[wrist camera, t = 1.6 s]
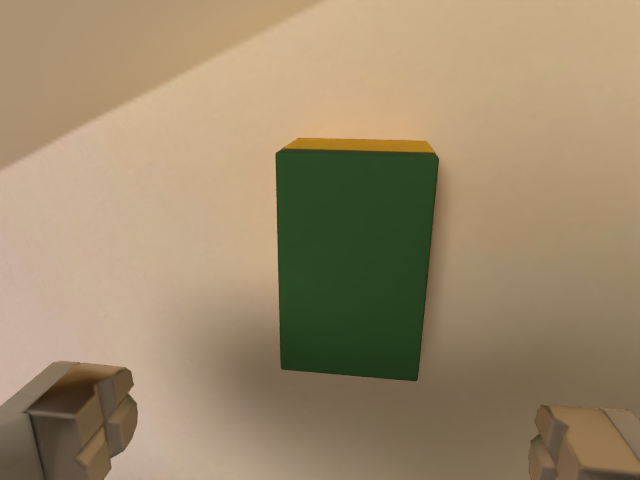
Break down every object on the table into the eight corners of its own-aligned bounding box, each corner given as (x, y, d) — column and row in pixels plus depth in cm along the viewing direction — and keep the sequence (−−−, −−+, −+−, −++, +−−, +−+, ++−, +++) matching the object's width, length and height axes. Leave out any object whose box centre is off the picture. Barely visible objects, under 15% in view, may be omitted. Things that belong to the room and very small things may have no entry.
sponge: (297, 137, 18) (274, 152, 14) (427, 141, 17) (439, 156, 13) (299, 317, 20) (280, 370, 17) (411, 325, 20) (417, 382, 16)
